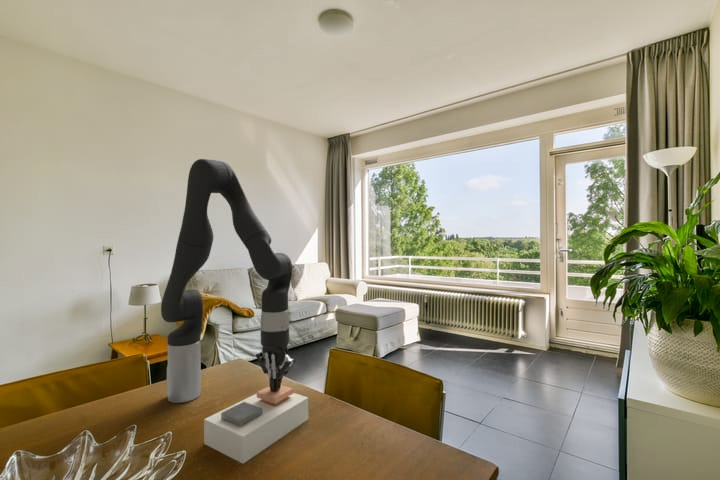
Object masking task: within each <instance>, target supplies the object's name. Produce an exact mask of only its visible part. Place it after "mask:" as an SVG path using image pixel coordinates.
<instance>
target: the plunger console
mask: <svg viewBox="0 0 720 480" xmlns="http://www.w3.org/2000/svg"><path fill="white" fill-rule="evenodd" d="M242 402H246V403H249V404H252V405H254V406H257V407H260V408H262V409H263V414H262V415H260V416H258V417H257V418H255V419H253V420H251V421H250V422H248V423H246V424H244V425H242V426H241V427H239V426H237V425H234V424H232V423H230V422H227V421H225V420H223V419H221V413H222V412H224V411H226V410H228V409H230V408H232V407H234V406H236V405H238V404H240V403H242ZM308 420H309V397H308V396H305V395H301V394H299V393H295V392H293V394H292V395H290V396H288V400H286V401H284V402H282V403H281V404H279V405H277V406H272V405H269V404H266V403H263V402H262V399H260V398H257V393H255V394H253V395H250V396H249V397H246V398H245V399H242V400H241V401H239V402H236V403H234V404H232V405H231V406H228V407H227V408H224V409H222V410H219V411H218V412H215V413H214V414H211V415H210V416H208V417H206V418H204V419H203V431H204V432H203V437H204V438H203V439H204V440H203V443H204V444H203V445H205V446H208V447H209V448H211V449H214V450H215V451H218V452H219V453H221V454H223V455H225V456H227V457H229V458H230V459H233V460H235V461H237V462H238V463H241V464H245V463H246V462H248V461H249V460H251V459H252V458H254V457H256V456H257V455H259V453H262V452H263V451H264V450H266V449H268V448H269V447H270V446H271V445H273V444H275V443H276V442H277V441H279V440H280V439H282V438H283V437H285V436H286V435H287V434H289V433H290V432H292V431H293V430H296V429H297V427H299V426H301V425H302V424H304V423H305V422H306V421H308Z"/></svg>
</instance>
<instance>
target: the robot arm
mask: <svg viewBox="0 0 720 480" xmlns="http://www.w3.org/2000/svg"><path fill="white" fill-rule="evenodd" d="M187 177H188V178H187V186H186V197H185V205H184V209H183V216H182V221H181V226H180V231H179V234H178V238H177V243H176V246H175V247H176V248H175V253H174V259H173V263H172V267H171V271H170V275H169V278H168V281H167V284H166V287H165V289H164V293H163V297H162V299H161V305H160V314H161V317H162V319H163V321H165V322H166V323H178V322H182V321H183V322H182V323H181V325H180V326H178V328H176V329H174V330H172V331H171V332H170V333H169V334H168V336H167V366H166V397H167V401H168V402H170V403H173V404H182V403H188V402H190V401H193V400H195V399H197V398H199V397H200V395H201V388H202V387H201V385H202V384H201V380H202V379H201V378H202V377H201V376H202V375H201V366H202V365H201V364H202V363H201V361H202V359H201V355H202V354H201V349H202V348H201V337H202V336H201V335H202V332H203V318H204V317H203V316H204V300H203V296H202V294H201V292H200V291H199V290H198V289H187V290H186V287H187V285H188V283H189V282H190V280H191V279H192V278H193V277H194V276H195V275H196V274H197V273H198V271H200V270H201V268H202V267H203V266H204V265H205V264H206V263H207V261H208V260H209V258H210V255H211V250H212V246H213V242H214V233H213V229H212V225H211V223H210V219H209V216H208V206H209V201H210V198H211V195H212V194H220V195H221V196H222V197H223V199H225V201H226V202H227V204H228V205H229V207H230V210H231V217H232V225H233V229H234V231H235V233H236V235H237V236H238V238H239V240H241V242H242V244H243V246H245V248H246V249H247V251H248V255H249V258H250V260H251V263H252V265H253V268H254V270H255V272H256V273H257V274H258V275H259V277H261V278H262V279H263V280H266V281H267V282H268V283H267V287H266V288H265V289H264V290H262V293H261V315H260V345H261V347H262V348H261V351H260V352H258V353H256V354H255V357H256V360H257V361H258V364H259V365H260V368H261V370H262V372H263V374H267V376H268V378H269V381H268V382H269V386H270V391H273V392H276V391H278V390H279V389H280V388H281V385H282V382H281V377H282V376H283V377H284V376H286V375H287V374H288V373H289V372H290V371H291V368H292V367H293V365H294V364H295V363H296V360H295V358H291V357H290V355H289V349H288V344H289V343H290V315H289V290H290V286H291V282H292V281H291V280H292V275H293V264H292V260H291V258H290V257H289V256H288V255H287V254H286V253H283V252H276V253H275V252H274V251H273V249H272V246H271V243H272V237H271V236H270V234H269V232H268V231H267V229H266V228H265V226H264V225H263V224H262V222H261V221H260V219H259V218H258V216H257V215H256V213H255V211H254V210H253V208H252V207H251V205H250V202H249V199H248V198H247V196H246V193H245V192H244V189H243V188H242V185H241V182H240V180H239V179H238V177H237V175H236V172H235V171H234V169H233V168H232V166H231V165H230V164H228V163H227V162H225V161H221V160H215V159H206V158H199V159H196V160H195V161H194V162H193V163H192V164H191V166H190V169H189V172H188V176H187Z"/></svg>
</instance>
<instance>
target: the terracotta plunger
mask: <svg viewBox="0 0 720 480" xmlns="http://www.w3.org/2000/svg"><path fill="white" fill-rule="evenodd" d="M293 393H294V388H293V387H289V386H286V385H283V384H281V388H280V389H279V390H278V391H276V392H273V391H270V386H267V387H264V388H263V389H260V390H258V391H257V392H256V394H257V398H260V399H262V402H263V403H266V404H269V405H272V406H277V405H279V404H281V403H282V402H284V401H286V400H288V396H290V395H292V394H293Z"/></svg>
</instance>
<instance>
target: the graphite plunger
mask: <svg viewBox="0 0 720 480" xmlns="http://www.w3.org/2000/svg"><path fill="white" fill-rule="evenodd" d="M262 414H263V409H262V408H260V407H257V406H254V405H252V404H249V403H246V402H242V403H240V404H238V405H236V406H234V407H232V408H230V409H228V410H226V411H224V412H222V413H221V419H223V420H225V421H227V422H230V423H232V424H234V425H237V426H239V427H241V426H242V425H244V424H246V423H248V422H250V421H251V420H253V419H255V418H257V417H258V416H260V415H262Z"/></svg>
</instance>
